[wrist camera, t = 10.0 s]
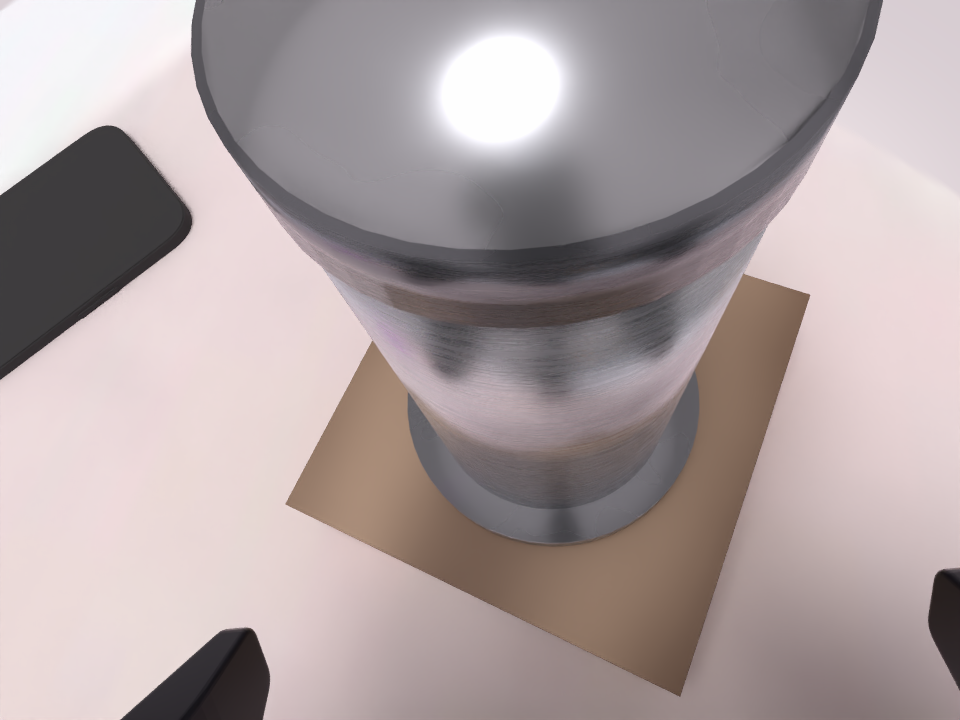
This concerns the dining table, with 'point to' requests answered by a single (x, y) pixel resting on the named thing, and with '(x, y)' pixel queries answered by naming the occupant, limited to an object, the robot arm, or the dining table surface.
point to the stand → (589, 566)
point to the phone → (79, 237)
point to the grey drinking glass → (533, 210)
